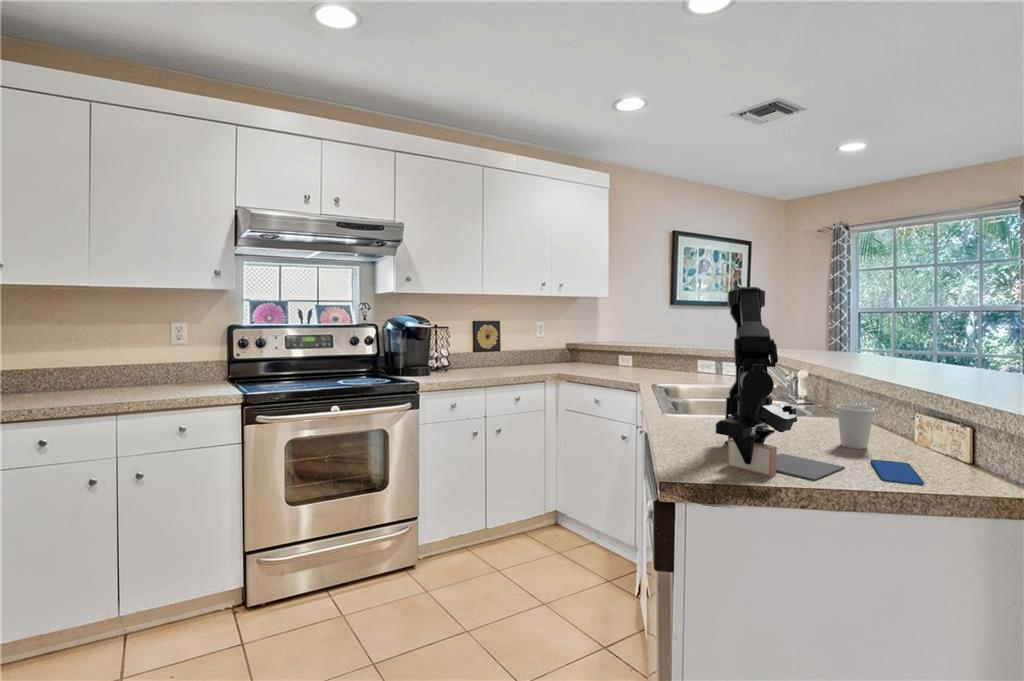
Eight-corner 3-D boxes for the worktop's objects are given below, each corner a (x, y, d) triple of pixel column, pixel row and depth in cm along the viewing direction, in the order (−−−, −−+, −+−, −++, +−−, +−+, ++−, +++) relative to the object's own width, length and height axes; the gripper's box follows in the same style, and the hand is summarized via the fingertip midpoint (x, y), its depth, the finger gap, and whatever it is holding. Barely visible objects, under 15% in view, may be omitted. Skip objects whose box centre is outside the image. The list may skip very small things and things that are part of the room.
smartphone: (881, 479, 112) (869, 459, 125) (881, 484, 112) (869, 463, 126) (926, 484, 109) (908, 462, 122) (925, 489, 109) (908, 467, 122)
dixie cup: (829, 445, 140) (831, 406, 140) (841, 440, 146) (842, 402, 145) (867, 452, 134) (869, 411, 133) (878, 446, 140) (879, 406, 139)
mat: (749, 465, 123) (749, 463, 123) (781, 454, 132) (781, 453, 132) (814, 480, 112) (814, 479, 112) (844, 468, 120) (844, 466, 120)
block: (726, 465, 123) (727, 439, 123) (732, 464, 124) (732, 437, 124) (770, 476, 115) (771, 448, 115) (776, 474, 116) (776, 446, 116)
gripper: (766, 401, 107) (764, 480, 108) (811, 391, 118) (809, 463, 119) (714, 394, 116) (713, 467, 117) (761, 386, 127) (759, 453, 128)
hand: (750, 463), depth 120 cm, fingers closed on block, 2 cm apart
